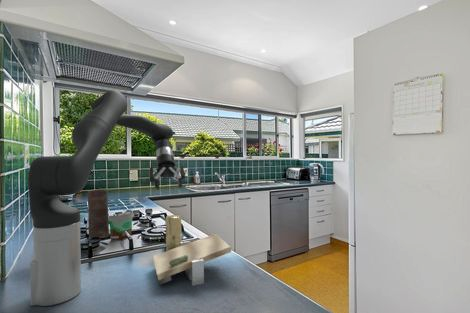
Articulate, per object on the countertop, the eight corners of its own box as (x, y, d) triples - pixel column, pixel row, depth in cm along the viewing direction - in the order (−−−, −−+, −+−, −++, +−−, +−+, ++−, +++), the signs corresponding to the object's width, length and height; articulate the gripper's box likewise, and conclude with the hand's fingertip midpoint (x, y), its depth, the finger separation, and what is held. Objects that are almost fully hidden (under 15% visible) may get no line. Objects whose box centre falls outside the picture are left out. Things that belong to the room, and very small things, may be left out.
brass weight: (167, 254, 86) (166, 219, 86) (165, 249, 91) (164, 215, 91) (182, 252, 88) (182, 217, 88) (180, 247, 93) (179, 214, 93)
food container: (122, 242, 99) (122, 216, 99) (108, 241, 100) (108, 216, 100) (140, 233, 111) (140, 209, 111) (127, 232, 112) (127, 209, 112)
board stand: (192, 285, 65) (192, 262, 65) (180, 261, 80) (180, 242, 80) (203, 283, 66) (203, 260, 66) (189, 259, 82) (189, 240, 82)
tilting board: (159, 284, 64) (155, 269, 63) (154, 264, 76) (151, 251, 75) (232, 255, 71) (229, 241, 71) (217, 241, 83) (214, 229, 83)
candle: (90, 241, 100) (89, 190, 100) (86, 237, 105) (85, 188, 105) (111, 237, 105) (110, 188, 105) (106, 233, 111) (105, 187, 110)
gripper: (180, 164, 118) (185, 192, 107) (147, 165, 113) (149, 194, 102) (182, 153, 113) (188, 181, 103) (148, 153, 108) (150, 182, 97)
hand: (169, 187), depth 102 cm, fingers open, 8 cm apart
